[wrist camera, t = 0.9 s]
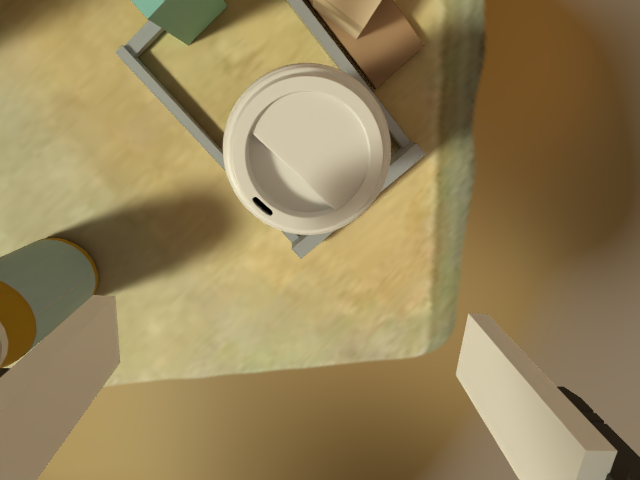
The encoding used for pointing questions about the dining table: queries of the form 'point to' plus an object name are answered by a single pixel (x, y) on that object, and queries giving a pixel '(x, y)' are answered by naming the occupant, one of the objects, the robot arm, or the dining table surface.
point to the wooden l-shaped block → (379, 42)
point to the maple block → (348, 13)
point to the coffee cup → (306, 148)
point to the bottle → (41, 292)
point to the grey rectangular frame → (186, 24)
